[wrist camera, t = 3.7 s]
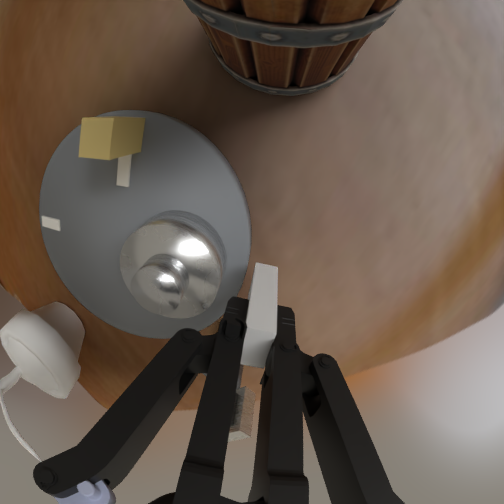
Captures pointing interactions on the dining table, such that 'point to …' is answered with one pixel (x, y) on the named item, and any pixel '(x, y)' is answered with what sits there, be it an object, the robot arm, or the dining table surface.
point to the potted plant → (42, 353)
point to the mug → (289, 39)
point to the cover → (174, 264)
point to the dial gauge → (241, 411)
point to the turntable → (136, 210)
